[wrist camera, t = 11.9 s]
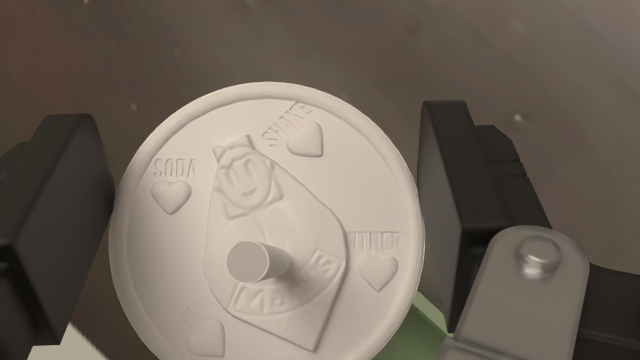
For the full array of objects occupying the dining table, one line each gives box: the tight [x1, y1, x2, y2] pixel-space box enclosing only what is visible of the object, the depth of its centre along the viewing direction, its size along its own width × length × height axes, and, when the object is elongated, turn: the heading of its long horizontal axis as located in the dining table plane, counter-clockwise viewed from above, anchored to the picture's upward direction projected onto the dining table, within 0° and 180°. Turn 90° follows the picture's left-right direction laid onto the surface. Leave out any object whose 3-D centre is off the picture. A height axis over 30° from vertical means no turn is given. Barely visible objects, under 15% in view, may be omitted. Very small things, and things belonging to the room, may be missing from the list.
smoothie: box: [109, 82, 425, 360], centre depth 15 cm, size 6×6×14 cm
